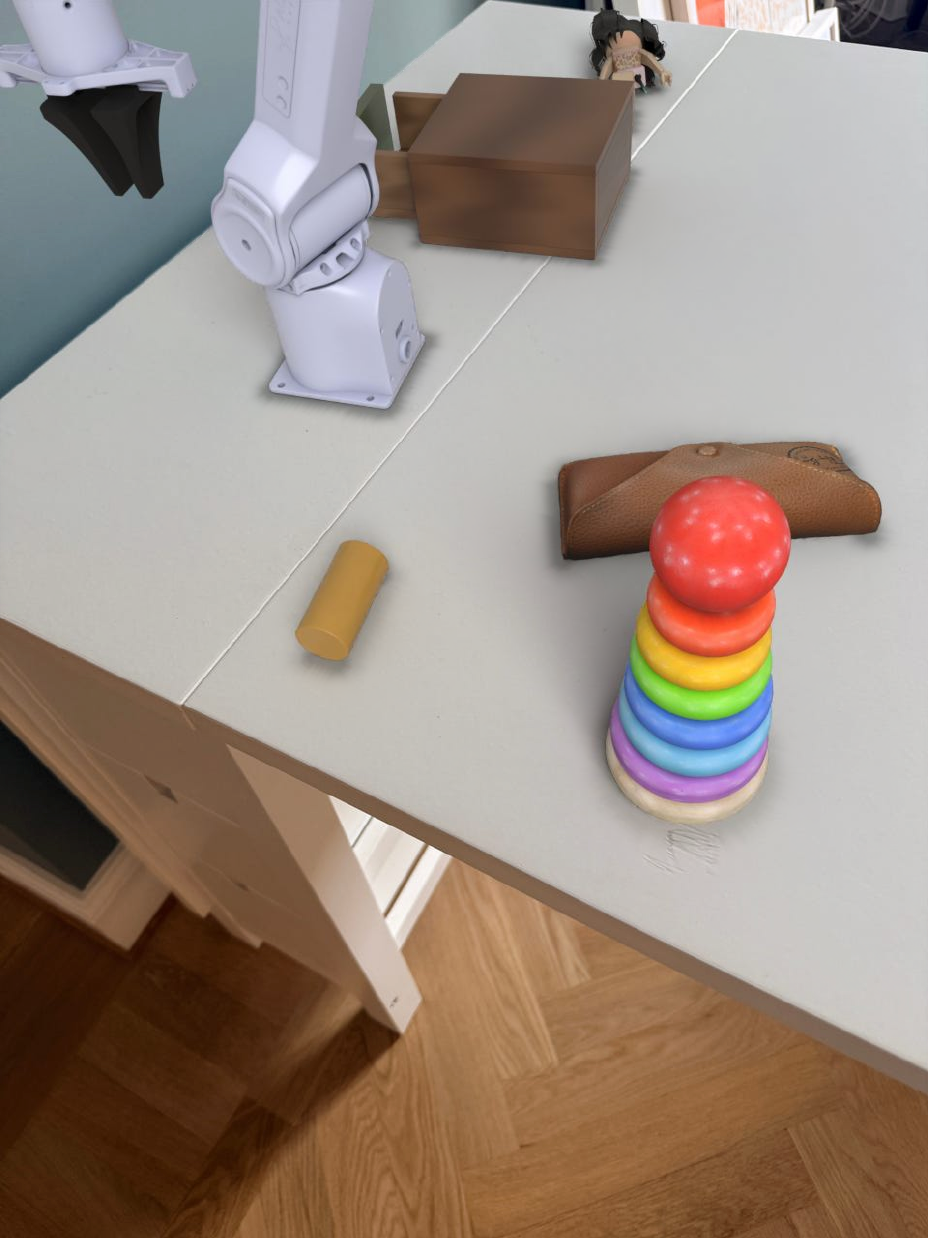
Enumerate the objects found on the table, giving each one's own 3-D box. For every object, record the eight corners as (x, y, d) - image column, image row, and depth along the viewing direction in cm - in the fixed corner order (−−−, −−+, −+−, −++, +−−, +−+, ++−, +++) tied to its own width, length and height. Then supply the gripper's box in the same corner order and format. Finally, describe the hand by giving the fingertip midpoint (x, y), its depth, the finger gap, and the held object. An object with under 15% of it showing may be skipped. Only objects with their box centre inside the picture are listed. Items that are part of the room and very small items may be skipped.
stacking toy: (799, 765, 47) (902, 512, 31) (683, 863, 44) (734, 641, 29) (685, 664, 51) (727, 398, 36) (573, 749, 48) (568, 503, 33)
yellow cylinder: (385, 581, 57) (393, 553, 54) (344, 667, 53) (351, 642, 51) (336, 561, 57) (342, 532, 54) (293, 646, 53) (296, 619, 51)
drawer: (283, 215, 80) (264, 148, 75) (335, 146, 86) (321, 80, 81) (485, 234, 75) (479, 164, 70) (525, 159, 81) (521, 90, 76)
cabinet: (421, 243, 77) (406, 152, 71) (469, 161, 83) (459, 72, 77) (595, 260, 73) (595, 165, 67) (630, 173, 79) (634, 80, 73)
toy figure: (681, 130, 83) (658, 45, 91) (678, 58, 78) (654, -25, 86) (601, 148, 84) (585, 63, 93) (593, 79, 79) (577, -5, 87)
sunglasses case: (837, 435, 58) (876, 402, 52) (851, 546, 58) (892, 526, 51) (551, 464, 60) (553, 435, 53) (561, 573, 59) (564, 557, 52)
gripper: (-81, 4, 57) (27, 212, 68) (120, 10, 53) (200, 229, 64) (-13, -44, 60) (79, 160, 71) (179, -42, 57) (245, 174, 68)
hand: (139, 189), depth 68 cm, fingers closed
